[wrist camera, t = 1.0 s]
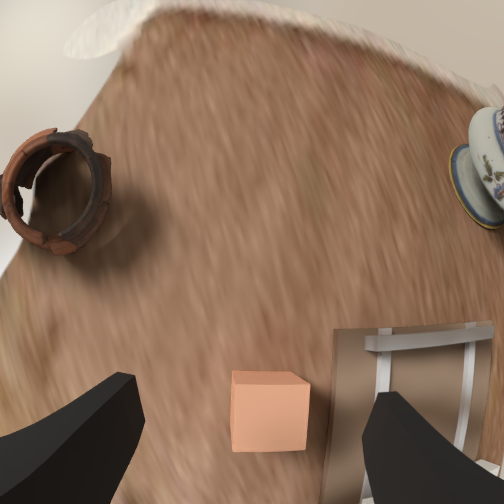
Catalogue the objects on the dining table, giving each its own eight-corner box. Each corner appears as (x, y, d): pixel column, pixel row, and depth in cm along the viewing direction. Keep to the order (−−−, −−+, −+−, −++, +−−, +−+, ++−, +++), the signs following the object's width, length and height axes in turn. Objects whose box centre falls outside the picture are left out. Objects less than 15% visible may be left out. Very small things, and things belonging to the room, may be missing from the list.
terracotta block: (287, 424, 19) (305, 449, 15) (230, 424, 19) (232, 451, 14) (290, 371, 20) (310, 384, 15) (232, 370, 20) (234, 383, 15)
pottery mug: (103, 129, 24) (105, 101, 17) (122, 232, 26) (130, 243, 19) (-15, 165, 19) (-52, 153, 12) (5, 267, 21) (-26, 291, 14)
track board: (431, 563, 15) (443, 574, 13) (298, 601, 14) (304, 618, 11) (484, 320, 22) (506, 318, 20) (333, 329, 21) (350, 329, 18)
